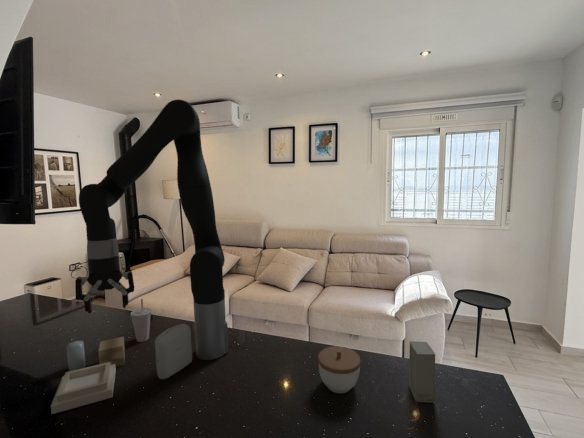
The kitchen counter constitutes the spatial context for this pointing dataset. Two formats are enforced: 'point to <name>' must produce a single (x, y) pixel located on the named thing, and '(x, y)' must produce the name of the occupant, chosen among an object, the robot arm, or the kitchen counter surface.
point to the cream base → (84, 387)
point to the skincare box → (422, 371)
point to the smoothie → (141, 322)
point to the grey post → (76, 355)
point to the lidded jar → (339, 368)
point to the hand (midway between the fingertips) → (107, 309)
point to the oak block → (112, 351)
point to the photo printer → (173, 350)
